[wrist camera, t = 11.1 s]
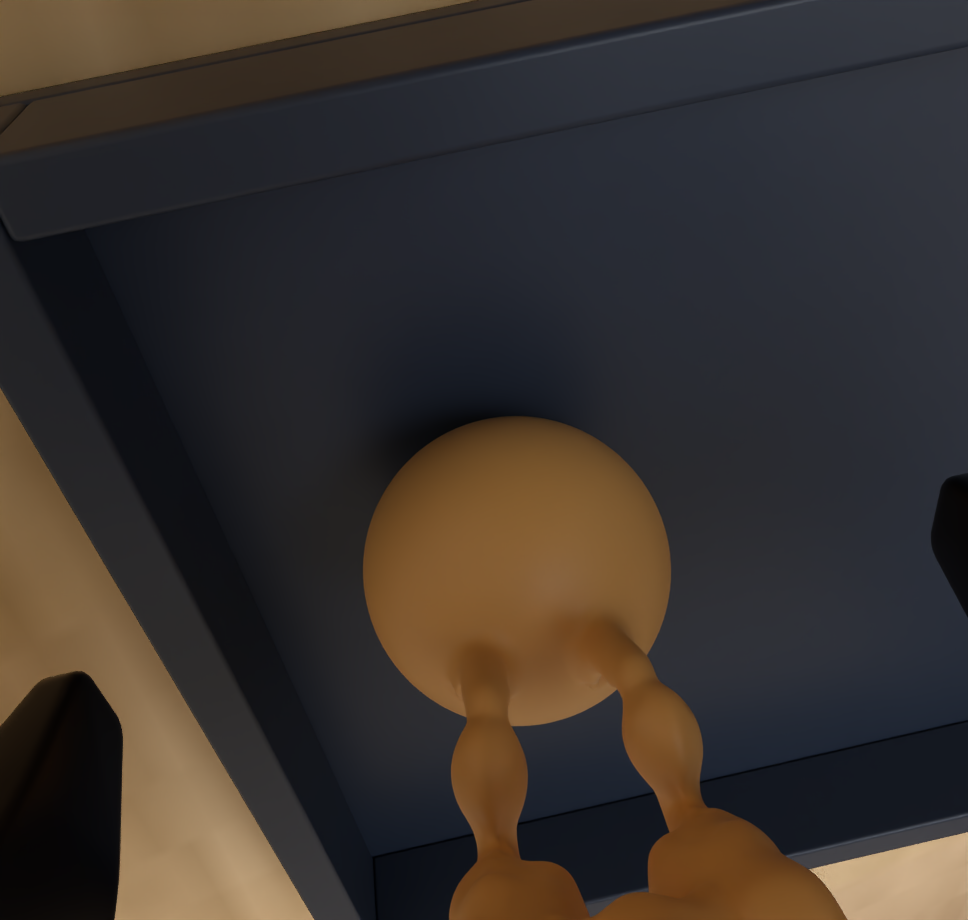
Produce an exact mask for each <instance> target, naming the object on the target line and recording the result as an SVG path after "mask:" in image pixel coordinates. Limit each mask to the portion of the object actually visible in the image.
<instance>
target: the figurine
mask: <svg viewBox="0 0 968 920" xmlns="http://www.w3.org/2000/svg"><path fill="white" fill-rule="evenodd" d="M363 583H364V592H365V598H366V603H367V608H368V612H369V615H370V618H371V621H372V624H373V627H374V629H375V632H376V634H377V636H378V638H379V640H380V642H381V644H382V646H383V648H384V650H385V651H386V653H387V654H388V656H389V657H390V659H391V660H392V662H393V663H394V665H395V666H396V667H397V668H398V670H399V671H400V672H401V673H402V674H403V675H404V676H405V678H406V679H407V680H408V681H409V682H410V683H411V684H412V685H414V686H415V687H416V688H417V689H418V690H419V691H421V692H422V693H423V694H424V695H426V696H427V697H428V698H430V699H431V700H433V701H434V702H436V703H437V704H439V705H441V706H443V707H444V708H446V709H448V710H450V711H452V712H455V713H457V714H459V715H462V716H464V717H467V723H466V726H465V728H464V729H463V731H462V733H461V735H460V737H459V739H458V741H457V744H456V747H455V750H454V753H453V757H452V763H451V781H452V787H453V791H454V795H455V798H456V801H457V803H458V805H459V807H460V809H461V811H462V813H463V814H464V816H465V818H466V819H467V821H468V823H469V824H470V826H471V828H472V830H473V833H474V836H475V839H476V843H477V851H478V859H477V862H476V863H475V864H474V866H473V867H472V868H471V869H470V870H469V871H468V872H467V874H466V875H465V876H464V877H463V878H462V880H461V881H460V883H459V884H458V886H457V888H456V890H455V892H454V894H453V897H452V901H451V905H450V911H449V920H847V918H846V917H845V915H844V913H843V911H842V910H841V908H840V906H839V905H838V903H837V901H836V900H835V898H834V897H833V895H832V894H831V892H830V891H829V890H828V888H827V887H826V886H825V884H824V883H823V882H822V881H821V880H820V879H819V878H818V877H817V876H816V875H815V874H814V873H812V872H811V871H810V870H808V869H807V868H805V867H804V866H802V865H800V864H799V863H797V862H795V861H793V860H792V859H790V858H788V857H786V856H785V855H783V854H782V853H781V852H780V850H779V849H778V848H777V846H776V845H775V844H774V842H773V841H772V840H771V839H770V838H769V837H768V836H767V835H766V834H765V833H764V832H762V831H761V830H760V829H759V828H757V827H756V826H755V825H753V824H751V823H750V822H748V821H746V820H744V819H742V818H739V817H737V816H735V815H733V814H730V813H728V812H726V811H724V810H721V809H717V808H708V807H707V806H706V805H705V804H704V802H703V800H702V796H701V792H700V772H701V766H702V760H703V743H702V736H701V732H700V728H699V725H698V723H697V720H696V718H695V716H694V714H693V713H692V711H691V710H690V708H689V707H688V705H687V704H686V703H685V702H684V701H683V699H682V698H681V697H680V696H679V695H678V694H676V693H675V692H674V691H673V690H671V689H670V688H669V687H667V686H665V685H664V684H662V683H661V682H660V681H659V680H658V678H657V676H656V674H655V671H654V668H653V666H652V664H651V662H650V660H649V658H648V657H647V654H648V652H649V651H650V649H651V647H652V645H653V643H654V641H655V639H656V637H657V635H658V633H659V631H660V628H661V625H662V623H663V620H664V616H665V613H666V609H667V605H668V600H669V593H670V584H671V559H670V550H669V544H668V539H667V535H666V531H665V527H664V524H663V521H662V518H661V515H660V513H659V511H658V508H657V506H656V504H655V502H654V500H653V498H652V496H651V494H650V493H649V491H648V489H647V488H646V486H645V485H644V483H643V482H642V480H641V479H640V478H639V476H638V475H637V474H636V473H635V471H634V470H633V469H632V468H631V467H630V466H629V465H628V464H627V463H626V462H625V461H624V460H623V459H622V458H621V457H620V456H619V455H618V454H617V453H616V452H614V451H613V450H612V449H611V448H609V447H608V446H607V445H605V444H604V443H602V442H601V441H599V440H598V439H596V438H595V437H593V436H591V435H589V434H587V433H585V432H583V431H581V430H579V429H577V428H574V427H572V426H569V425H566V424H563V423H560V422H557V421H553V420H549V419H544V418H537V417H528V416H505V417H495V418H489V419H484V420H480V421H476V422H472V423H469V424H466V425H463V426H461V427H458V428H456V429H454V430H451V431H449V432H447V433H445V434H444V435H442V436H440V437H438V438H437V439H435V440H433V441H432V442H430V443H429V444H428V445H426V446H425V447H424V448H422V449H421V450H420V451H418V452H417V453H416V454H415V455H414V456H413V457H412V458H411V459H410V460H409V461H408V462H407V463H406V464H405V465H404V466H403V467H402V468H401V469H400V470H399V472H398V473H397V474H396V475H395V477H394V478H393V479H392V481H391V482H390V484H389V485H388V487H387V488H386V490H385V491H384V493H383V495H382V497H381V499H380V501H379V503H378V505H377V507H376V509H375V512H374V514H373V517H372V520H371V523H370V526H369V529H368V533H367V537H366V542H365V549H364V558H363ZM616 690H618V691H619V693H620V695H621V697H622V700H623V716H622V737H623V742H624V746H625V749H626V752H627V754H628V756H629V758H630V760H631V762H632V764H633V765H634V767H635V768H636V770H637V771H638V772H639V774H640V775H641V776H642V777H643V779H644V780H645V781H646V782H647V783H648V784H649V785H650V787H651V788H652V789H653V790H654V792H655V794H656V796H657V798H658V801H659V803H660V806H661V809H662V812H663V815H664V818H665V821H666V824H667V827H668V829H669V832H670V833H668V834H666V835H664V836H662V837H661V838H660V839H659V840H658V841H657V842H656V843H655V844H654V845H653V847H652V849H651V851H650V853H649V858H648V887H649V892H633V893H629V894H625V895H623V896H621V897H619V898H618V899H616V900H615V901H613V902H612V903H611V904H609V905H608V906H607V907H606V908H604V909H603V910H602V911H601V912H599V913H598V914H596V915H594V916H592V917H590V915H589V913H588V910H587V908H586V905H585V903H584V901H583V898H582V896H581V893H580V891H579V889H578V886H577V884H576V882H575V881H574V879H573V877H572V876H571V875H570V873H569V872H568V871H567V870H566V869H564V868H563V867H561V866H559V865H557V864H555V863H552V862H547V861H525V860H521V858H520V855H519V849H518V842H517V823H518V820H519V817H520V814H521V811H522V808H523V805H524V802H525V798H526V793H527V785H528V770H527V763H526V758H525V755H524V752H523V749H522V747H521V744H520V742H519V740H518V738H517V736H516V734H515V732H514V730H513V728H512V727H511V726H531V725H540V724H546V723H551V722H555V721H559V720H562V719H565V718H568V717H571V716H574V715H576V714H578V713H581V712H583V711H585V710H587V709H589V708H591V707H593V706H594V705H596V704H598V703H599V702H601V701H602V700H604V699H605V698H607V697H608V696H609V695H611V694H612V693H613V692H615V691H616Z"/></svg>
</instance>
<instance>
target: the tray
mask: <svg viewBox="0 0 968 920" xmlns="http://www.w3.org/2000/svg"><path fill="white" fill-rule="evenodd" d="M0 388H1V390H2V391H3V393H4V395H5V396H6V398H7V400H8V401H9V403H10V405H11V407H12V408H13V410H14V412H15V413H16V415H17V417H18V418H19V420H20V422H21V423H22V425H23V427H24V429H25V430H26V432H27V434H28V435H29V437H30V439H31V440H32V442H33V444H34V445H35V447H36V449H37V451H38V452H39V454H40V456H41V457H42V459H43V461H44V462H45V464H46V466H47V468H48V469H49V471H50V473H51V474H52V476H53V478H54V479H55V481H56V483H57V484H58V486H59V488H60V490H61V491H62V493H63V495H64V496H65V498H66V500H67V501H68V503H69V505H70V506H71V508H72V510H73V512H74V513H75V515H76V517H77V518H78V520H79V522H80V523H81V525H82V527H83V528H84V530H85V532H86V534H87V535H88V537H89V539H90V540H91V542H92V544H93V545H94V547H95V549H96V551H97V552H98V554H99V556H100V557H101V559H102V561H103V562H104V564H105V566H106V567H107V569H108V571H109V573H110V574H111V576H112V578H113V579H114V581H115V583H116V584H117V586H118V588H119V589H120V591H121V593H122V595H123V596H124V598H125V600H126V601H127V603H128V605H129V606H130V608H131V610H132V612H133V613H134V615H135V617H136V618H137V620H138V622H139V623H140V625H141V627H142V628H143V630H144V632H145V634H146V635H147V637H148V639H149V640H150V642H151V644H152V645H153V647H154V649H155V650H156V652H157V654H158V656H159V657H160V659H161V661H162V662H163V664H164V666H165V667H166V669H167V671H168V672H169V674H170V676H171V678H172V679H173V681H174V683H175V684H176V686H177V688H178V689H179V691H180V693H181V695H182V696H183V698H184V700H185V701H186V703H187V705H188V706H189V708H190V710H191V711H192V713H193V715H194V717H195V718H196V720H197V722H198V723H199V725H200V727H201V728H202V730H203V732H204V733H205V735H206V737H207V739H208V740H209V742H210V744H211V745H212V747H213V749H214V750H215V752H216V754H217V756H218V757H219V759H220V761H221V762H222V764H223V766H224V767H225V769H226V771H227V772H228V774H229V776H230V778H231V779H232V781H233V783H234V784H235V786H236V788H237V789H238V791H239V793H240V794H241V796H242V798H243V800H244V801H245V803H246V805H247V806H248V808H249V810H250V811H251V813H252V815H253V816H254V818H255V820H256V822H257V823H258V825H259V827H260V828H261V830H262V832H263V833H264V835H265V837H266V839H267V840H268V842H269V844H270V845H271V847H272V849H273V850H274V852H275V854H276V855H277V857H278V859H279V861H280V862H281V864H282V866H283V867H284V869H285V871H286V872H287V874H288V876H289V877H290V879H291V881H292V883H293V884H294V886H295V888H296V889H297V891H298V893H299V894H300V896H301V898H302V900H303V901H304V903H305V905H306V906H307V908H308V910H309V911H310V913H311V915H312V916H313V918H314V920H449V911H450V905H451V901H452V897H453V894H454V892H455V890H456V888H457V886H458V884H459V883H460V881H461V880H462V878H463V877H464V876H465V875H466V874H467V872H468V871H469V870H470V869H471V868H472V867H473V866H474V864H475V863H476V862H477V859H478V851H477V843H476V839H475V836H474V833H473V830H472V828H471V826H470V824H469V823H468V821H467V819H466V818H465V816H464V814H463V813H462V811H461V809H460V807H459V805H458V803H457V801H456V798H455V795H454V791H453V787H452V781H451V763H452V757H453V753H454V750H455V747H456V744H457V741H458V739H459V737H460V735H461V733H462V731H463V729H464V728H465V726H466V723H467V717H464V716H462V715H459V714H457V713H455V712H452V711H450V710H448V709H446V708H444V707H443V706H441V705H439V704H437V703H436V702H434V701H433V700H431V699H430V698H428V697H427V696H426V695H424V694H423V693H422V692H421V691H419V690H418V689H417V688H416V687H415V686H414V685H412V684H411V683H410V682H409V681H408V680H407V679H406V678H405V676H404V675H403V674H402V673H401V672H400V671H399V670H398V668H397V667H396V666H395V665H394V663H393V662H392V660H391V659H390V657H389V656H388V654H387V653H386V651H385V650H384V648H383V646H382V644H381V642H380V640H379V638H378V636H377V634H376V632H375V629H374V627H373V624H372V621H371V618H370V615H369V612H368V608H367V603H366V598H365V592H364V583H363V558H364V549H365V542H366V537H367V533H368V529H369V526H370V523H371V520H372V517H373V514H374V512H375V509H376V507H377V505H378V503H379V501H380V499H381V497H382V495H383V493H384V491H385V490H386V488H387V487H388V485H389V484H390V482H391V481H392V479H393V478H394V477H395V475H396V474H397V473H398V472H399V470H400V469H401V468H402V467H403V466H404V465H405V464H406V463H407V462H408V461H409V460H410V459H411V458H412V457H413V456H414V455H415V454H416V453H417V452H418V451H420V450H421V449H422V448H424V447H425V446H426V445H428V444H429V443H430V442H432V441H433V440H435V439H437V438H438V437H440V436H442V435H444V434H445V433H447V432H449V431H451V430H454V429H456V428H458V427H461V426H463V425H466V424H469V423H472V422H476V421H480V420H484V419H489V418H495V417H505V416H528V417H537V418H544V419H549V420H553V421H557V422H560V423H563V424H566V425H569V426H572V427H574V428H577V429H579V430H581V431H583V432H585V433H587V434H589V435H591V436H593V437H595V438H596V439H598V440H599V441H601V442H602V443H604V444H605V445H607V446H608V447H609V448H611V449H612V450H613V451H614V452H616V453H617V454H618V455H619V456H620V457H621V458H622V459H623V460H624V461H625V462H626V463H627V464H628V465H629V466H630V467H631V468H632V469H633V470H634V471H635V473H636V474H637V475H638V476H639V478H640V479H641V480H642V482H643V483H644V485H645V486H646V488H647V489H648V491H649V493H650V494H651V496H652V498H653V500H654V502H655V504H656V506H657V508H658V511H659V513H660V515H661V518H662V521H663V524H664V527H665V531H666V535H667V539H668V544H669V550H670V559H671V584H670V593H669V600H668V605H667V609H666V613H665V616H664V620H663V623H662V625H661V628H660V631H659V633H658V635H657V637H656V639H655V641H654V643H653V645H652V647H651V649H650V651H649V652H648V654H647V657H648V658H649V660H650V662H651V664H652V666H653V668H654V671H655V674H656V676H657V678H658V680H659V681H660V682H661V683H662V684H664V685H665V686H667V687H669V688H670V689H671V690H673V691H674V692H675V693H676V694H678V695H679V696H680V697H681V698H682V699H683V701H684V702H685V703H686V704H687V705H688V707H689V708H690V710H691V711H692V713H693V714H694V716H695V718H696V720H697V723H698V725H699V728H700V732H701V736H702V743H703V760H702V766H701V772H700V792H701V796H702V800H703V802H704V804H705V805H706V806H707V807H708V808H717V809H721V810H724V811H726V812H728V813H730V814H733V815H735V816H737V817H739V818H742V819H744V820H746V821H748V822H750V823H751V824H753V825H755V826H756V827H757V828H759V829H760V830H761V831H762V832H764V833H765V834H766V835H767V836H768V837H769V838H770V839H771V840H772V841H773V842H774V844H775V845H776V846H777V848H778V849H779V850H780V852H781V853H782V854H783V855H785V856H786V857H788V858H790V859H792V860H793V861H795V862H797V863H799V864H800V865H802V866H804V867H805V868H807V869H812V868H816V867H820V866H824V865H829V864H833V863H837V862H842V861H846V860H850V859H854V858H859V857H863V856H867V855H872V854H876V853H880V852H884V851H889V850H893V849H897V848H902V847H906V846H910V845H914V844H919V843H923V842H927V841H932V840H936V839H940V838H944V837H949V836H953V835H957V834H962V833H966V832H968V618H967V616H966V614H965V612H964V610H963V608H962V606H961V605H960V603H959V601H958V599H957V597H956V595H955V593H954V591H953V590H952V588H951V586H950V584H949V582H948V580H947V578H946V576H945V575H944V573H943V571H942V569H941V567H940V565H939V563H938V561H937V560H936V557H935V555H934V553H933V550H932V546H931V529H932V525H933V520H934V516H935V511H936V507H937V502H938V498H939V493H940V489H941V486H942V484H943V483H944V481H945V480H946V479H947V478H949V477H951V476H955V475H960V474H964V473H968V0H478V1H473V2H468V3H463V4H458V5H453V6H448V7H443V8H438V9H433V10H428V11H423V12H418V13H413V14H408V15H403V16H399V17H394V18H389V19H384V20H379V21H374V22H369V23H364V24H359V25H354V26H349V27H344V28H339V29H334V30H329V31H324V32H319V33H314V34H309V35H304V36H299V37H294V38H289V39H284V40H279V41H275V42H270V43H265V44H260V45H255V46H250V47H245V48H240V49H235V50H230V51H225V52H220V53H215V54H210V55H205V56H200V57H195V58H190V59H185V60H180V61H175V62H170V63H165V64H160V65H155V66H151V67H146V68H141V69H136V70H131V71H126V72H121V73H116V74H111V75H106V76H101V77H96V78H91V79H86V80H81V81H76V82H71V83H66V84H61V85H56V86H51V87H46V88H41V89H36V90H31V91H27V92H22V93H17V94H12V95H7V96H2V97H0ZM622 716H623V700H622V697H621V695H620V693H619V691H618V690H616V691H615V692H613V693H612V694H611V695H609V696H608V697H607V698H605V699H604V700H602V701H601V702H599V703H598V704H596V705H594V706H593V707H591V708H589V709H587V710H585V711H583V712H581V713H578V714H576V715H574V716H571V717H568V718H565V719H562V720H559V721H555V722H551V723H546V724H540V725H531V726H511V727H512V728H513V730H514V732H515V734H516V736H517V738H518V740H519V742H520V744H521V747H522V749H523V752H524V755H525V758H526V763H527V770H528V785H527V793H526V798H525V802H524V805H523V808H522V811H521V814H520V817H519V820H518V823H517V842H518V849H519V855H520V858H521V860H525V861H547V862H552V863H555V864H557V865H559V866H561V867H563V868H564V869H566V870H567V871H568V872H569V873H570V875H571V876H572V877H573V879H574V881H575V882H576V884H577V886H578V889H579V891H580V893H581V896H582V898H583V901H584V903H585V905H586V908H587V910H588V913H589V915H590V917H592V916H594V915H596V914H598V913H599V912H601V911H602V910H603V909H604V908H606V907H607V906H608V905H609V904H611V903H612V902H613V901H615V900H616V899H618V898H619V897H621V896H623V895H625V894H629V893H633V892H649V887H648V858H649V853H650V851H651V849H652V847H653V845H654V844H655V843H656V842H657V841H658V840H659V839H660V838H661V837H662V836H664V835H666V834H668V833H670V832H669V829H668V827H667V824H666V821H665V818H664V815H663V812H662V809H661V806H660V803H659V801H658V798H657V796H656V794H655V792H654V790H653V789H652V788H651V787H650V785H649V784H648V783H647V782H646V781H645V780H644V779H643V777H642V776H641V775H640V774H639V772H638V771H637V770H636V768H635V767H634V765H633V764H632V762H631V760H630V758H629V756H628V754H627V752H626V749H625V746H624V742H623V737H622Z"/></svg>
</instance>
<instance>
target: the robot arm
mask: <svg viewBox="0 0 968 920" xmlns="http://www.w3.org/2000/svg"><path fill="white" fill-rule="evenodd" d="M931 546H932V550H933V553H934V555H935V557H936V560H937V561H938V563H939V565H940V567H941V569H942V571H943V573H944V575H945V576H946V578H947V580H948V582H949V584H950V586H951V588H952V590H953V591H954V593H955V595H956V597H957V599H958V601H959V603H960V605H961V606H962V608H963V610H964V612H965V614H966V616H967V618H968V473H964V474H960V475H955V476H951V477H949V478H947V479H946V480H945V481H944V483H943V484H942V486H941V489H940V493H939V498H938V502H937V507H936V511H935V516H934V520H933V525H932V529H931ZM122 760H123V734H122V728H121V724H120V721H119V719H118V717H117V715H116V713H115V712H114V711H113V709H112V708H111V706H110V705H109V703H108V702H107V700H106V699H105V697H104V696H103V694H102V693H101V691H100V690H99V689H98V687H97V686H96V684H95V683H94V681H93V680H92V679H91V677H90V676H89V675H88V674H86V673H84V672H82V671H75V672H70V673H66V674H61V675H57V676H52V677H48V678H45V679H43V680H41V681H40V682H39V683H37V684H36V685H35V686H34V687H33V689H32V690H31V691H30V692H29V693H28V694H27V696H26V697H25V698H24V699H23V700H22V702H21V703H20V704H19V705H18V706H17V708H16V709H15V710H14V711H13V712H12V713H11V715H10V716H9V717H8V718H7V719H6V721H5V722H4V723H3V724H2V725H1V726H0V920H114V918H115V911H116V903H117V894H118V885H119V870H120V841H121V801H122Z"/></svg>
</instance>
